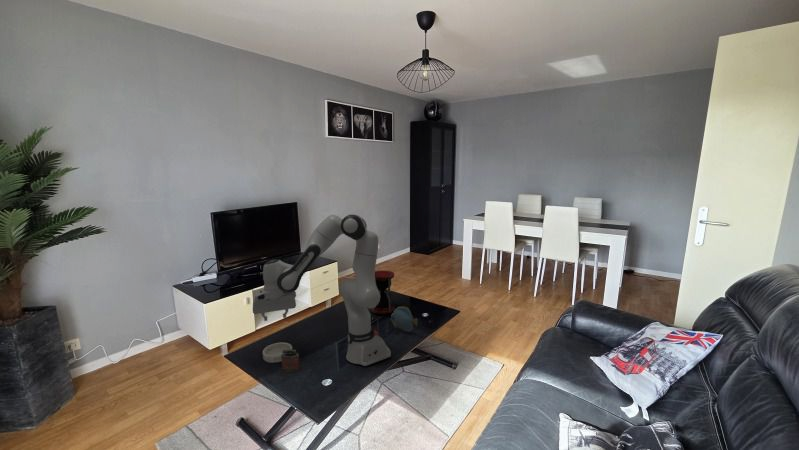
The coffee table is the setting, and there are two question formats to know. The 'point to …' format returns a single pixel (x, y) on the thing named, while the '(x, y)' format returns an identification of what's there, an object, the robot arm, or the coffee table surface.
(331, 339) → the coffee table surface
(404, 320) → the decorative fish sculpture
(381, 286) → the hourglass
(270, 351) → the ring dish
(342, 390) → the coffee table surface
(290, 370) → the lighter
